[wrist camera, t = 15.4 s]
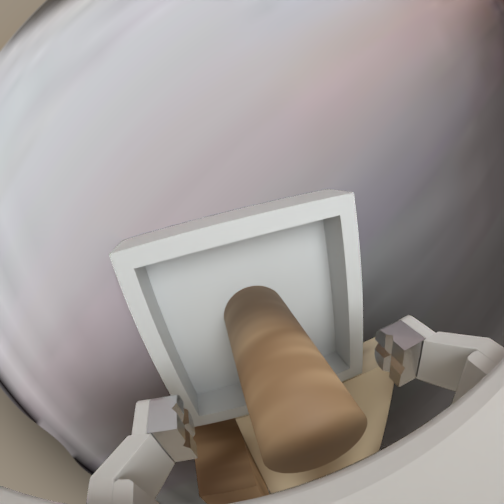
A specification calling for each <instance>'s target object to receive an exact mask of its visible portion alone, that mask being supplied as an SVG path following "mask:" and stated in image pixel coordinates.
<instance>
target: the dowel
mask: <svg viewBox="0 0 504 504" xmlns="http://www.w3.org/2000/svg"><path fill="white" fill-rule="evenodd" d="M224 321H225V325H226V329H227V333H228V337H229V341H230V345H231V349H232V353H233V357H234V361H235V365H236V368H237V372H238V376H239V380H240V384H241V387H242V391H243V395H244V398H245V402H246V405H247V409H248V413H249V416H250V420H251V423H252V426H253V430H254V433H255V437H256V440H257V443H258V447H259V450H260V453H261V456H262V460H263V463H264V465H265V466H266V467H267V468H268V469H270V470H272V471H275V472H279V473H299V472H305V471H309V470H312V469H316V468H318V467H321V466H323V465H326V464H328V463H330V462H332V461H334V460H336V459H337V458H339V457H340V456H342V455H343V454H345V453H346V452H347V451H349V450H350V449H351V448H352V447H353V446H354V445H355V444H356V443H357V442H358V441H359V440H360V439H361V437H362V436H363V434H364V432H365V430H366V428H367V417H366V415H365V414H364V412H363V411H362V410H361V408H360V407H359V406H358V404H357V403H356V401H355V400H354V399H353V397H352V396H351V394H350V393H349V392H348V390H347V389H346V387H345V386H344V385H343V383H342V382H341V381H340V379H339V378H338V376H337V375H336V374H335V372H334V371H333V369H332V368H331V367H330V365H329V364H328V362H327V361H326V360H325V358H324V357H323V356H322V354H321V353H320V351H319V350H318V349H317V347H316V346H315V344H314V343H313V342H312V340H311V339H310V337H309V336H308V335H307V333H306V332H305V330H304V329H303V328H302V326H301V325H300V323H299V322H298V321H297V319H296V318H295V316H294V315H293V314H292V312H291V311H290V309H289V308H288V307H287V305H286V304H285V303H284V301H283V300H282V298H281V297H280V296H279V294H278V293H277V292H275V291H274V290H272V289H271V288H268V287H265V286H250V287H246V288H244V289H242V290H240V291H238V292H237V293H235V294H234V295H233V296H232V297H231V298H230V300H229V301H228V303H227V305H226V307H225V311H224Z"/></svg>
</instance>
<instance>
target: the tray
mask: <svg viewBox="0 0 504 504" xmlns="http://www.w3.org/2000/svg"><path fill="white" fill-rule="evenodd" d="M109 256H110V259H111V262H112V265H113V268H114V271H115V273H116V276H117V279H118V282H119V284H120V287H121V290H122V292H123V295H124V297H125V300H126V302H127V305H128V307H129V310H130V312H131V315H132V317H133V319H134V322H135V324H136V326H137V329H138V331H139V333H140V335H141V337H142V340H143V342H144V344H145V346H146V348H147V350H148V352H149V354H150V357H151V359H152V361H153V363H154V365H155V367H156V369H157V371H158V372H159V374H160V376H161V378H162V380H163V382H164V384H165V386H166V388H167V389H168V391H169V393H170V395H171V396H172V395H180V397H181V398H182V400H183V402H184V408H185V409H187V410H188V411H189V413H190V414H191V417H192V419H193V423H194V427H196V426H201V425H206V424H211V423H216V422H220V421H224V420H228V419H233V418H236V417H240V416H244V415H248V414H249V413H248V409H247V405H246V402H245V398H244V395H243V391H242V387H241V384H240V380H239V376H238V372H237V368H236V365H235V361H234V357H233V353H232V349H231V345H230V341H229V337H228V333H227V329H226V325H225V321H224V311H225V307H226V305H227V303H228V301H229V300H230V298H231V297H232V296H233V295H234V294H235V293H237V292H238V291H240V290H242V289H244V288H246V287H250V286H265V287H268V288H271V289H272V290H274V291H275V292H277V293H278V294H279V296H280V297H281V298H282V300H283V301H284V303H285V304H286V305H287V307H288V308H289V309H290V311H291V312H292V314H293V315H294V316H295V318H296V319H297V321H298V322H299V323H300V325H301V326H302V328H303V329H304V330H305V332H306V333H307V335H308V336H309V337H310V339H311V340H312V342H313V343H314V344H315V346H316V347H317V349H318V350H319V351H320V353H321V354H322V356H323V357H324V358H325V360H326V361H327V362H328V364H329V365H330V367H331V368H332V369H333V371H334V372H335V374H336V375H337V376H338V378H339V379H340V381H341V382H343V381H345V380H347V379H350V378H352V377H354V376H356V375H359V374H361V373H362V364H363V296H362V274H361V258H360V245H359V234H358V224H357V215H356V207H355V199H354V193H353V192H346V191H339V190H332V189H325V190H320V191H315V192H311V193H306V194H301V195H297V196H292V197H287V198H283V199H278V200H274V201H270V202H265V203H261V204H257V205H252V206H248V207H244V208H240V209H236V210H232V211H228V212H224V213H220V214H216V215H212V216H208V217H204V218H200V219H196V220H193V221H189V222H185V223H181V224H178V225H174V226H170V227H167V228H163V229H160V230H156V231H152V232H149V233H145V234H142V235H139V236H135V237H132V238H128V239H125V240H123V241H122V242H121V243H120V244H119V245H118V246H117V247H116V248H115V249H114V250H113V251H112V252H111V253H110V254H109Z"/></svg>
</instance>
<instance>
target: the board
mask: <svg viewBox="0 0 504 504" xmlns="http://www.w3.org/2000/svg"><path fill="white" fill-rule="evenodd" d="M377 344H378V342H377V341H376V340H375V337H374V338H372V339H370V340H368V341H365V342H363V364H362V373H361V374H359V375H356V376H354V377H352V378H350V379H347V380H345V381H343V382H342V383H343V385H344V386H345V387H346V389H347V390H348V392H349V393H350V394H351V396H352V397H353V399H354V400H355V401H356V403H357V404H358V406H359V407H360V408H361V410H362V411H363V412H364V414H365V415H366V417H367V428H366V430H365V432H364V434H363V436H362V437H361V439H360V440H359V441H358V442H357V443H356V444H355V445H354V446H353V447H352V448H351V449H350V450H349V451H347V452H346V453H345V454H343V455H342V456H340V457H339V458H337V459H336V460H334V461H332V462H330V463H328V464H326V465H323V466H321V467H318V468H316V469H312V470H309V471H305V472H299V473H279V472H275V471H272V470H270V469H268V468H267V467H266V466H265V465H264V463H263V460H262V456H261V453H260V450H259V447H258V443H257V440H256V437H255V433H254V430H253V426H252V423H251V420H250V416H249V414H248V415H244V416H240V417H236V418H235V419H236V422H237V424H238V426H239V429H240V431H241V433H242V435H243V437H244V440H245V442H246V444H247V446H248V448H249V450H250V452H251V455H252V457H253V459H254V461H255V463H256V465H257V467H258V469H259V471H260V473H261V475H262V477H263V479H264V481H265V483H266V485H267V487H268V489H269V491H270V492H271V493H275V492H278V491H282V490H285V489H288V488H291V487H295V486H298V485H301V484H304V483H306V482H309V481H312V480H315V479H317V478H320V477H323V476H325V475H328V474H330V473H333V472H335V471H337V470H340V469H342V468H344V467H347V466H349V465H351V464H353V463H355V462H357V461H360V460H362V459H364V458H366V457H368V456H370V455H372V454H374V453H375V452H377V451H379V449H380V445H381V441H382V438H383V434H384V429H385V425H386V421H387V416H388V412H389V407H390V402H391V397H392V391H393V386H394V382H393V381H392V380H391V379H390V378H389V372H387V371H383V370H382V369H381V368H380V367H379V366H378V364H377V362H376V359H375V347H376V346H377Z"/></svg>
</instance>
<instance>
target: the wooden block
mask: <svg viewBox="0 0 504 504" xmlns="http://www.w3.org/2000/svg"><path fill="white" fill-rule="evenodd" d="M193 439H194V441H195V442H196V445H197V455H198V458H197V459H195V465H196V473H197V481H198V489H199V496H200V497H201V498H202V499H203V500H204V501H205V502H206V503H207V504H229V503H234V502H239V501H244V500H249V499H253V498H258V497H262V496H266V495H269V492H268V489H267V486H266V483H265V481H264V479H263V477H262V475H261V473H260V471H259V469H258V467H257V465H256V463H255V461H254V459H253V457H252V455H251V452H250V450H249V448H248V446H247V444H246V442H245V440H244V437H243V435H242V433H241V431H240V429H239V426H238V424H237V422H236V419H235V418H233V419H228V420H224V421H220V422H216V423H211V424H206V425H201V426H196V427H195V435H194V437H193Z"/></svg>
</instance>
